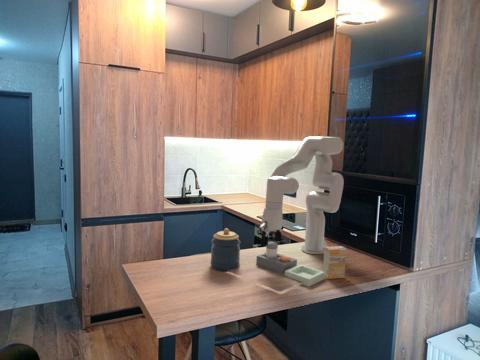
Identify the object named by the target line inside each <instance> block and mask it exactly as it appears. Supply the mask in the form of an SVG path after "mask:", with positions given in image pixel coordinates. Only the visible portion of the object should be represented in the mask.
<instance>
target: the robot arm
mask: <svg viewBox="0 0 480 360" xmlns="http://www.w3.org/2000/svg"><path fill="white" fill-rule="evenodd" d="M343 141H344V140H342V138H341V137H339V136H322V135H321V136H306V137H305V138H303V140H302V142H301V143H300V145H299V146H298V147H297V149H296V151H295V152H294V154H293V156H292V157H290V158H289V159H287V160H285V161H284V162H282V163H280V164H279V165H278V166H277V167H276V168H275V169H274V170H273V172H272V174H271V176H270V177H269V178H267V181H266V194H265V205H264V206H265V207H264V209H263V211H262V212H263V213H262V217H261V224H260V226H259V228H258V229H259V233H260V235H261V245H263V246H264V245H265V246H266V245H268V242H269V234H270V232H274V231H275V233H274V242H279V243H280V242H282V234H283V230H284V229H285V225H286V223H285V221H283V219H284V218H283V216H284V215H283V214H284V213H283V212H284V211H283V203H284V194H286V195H292V194H295V193H296V192H297V191H298V190H299V187H300V184H299V181H298V180H297V179H296V178H294V177H290V176H289V177H288V175H290V174H292V173H295V172H300V171H303V170H305V169H307V168H308V166H309V165H310V164H311V161H312V160H313V158H315V166H314V171H313V175H312V187H314V188H315V189H317V191H316V190H315V191H314V190H312V191H309V192H308V193H307V195H306V196H305V205H306V219H305V220H306V223H305V236H304V245H303V246H302V247H301V251H302V252H304V253H306V254H310V255H324V249H325V246H326V245H327V242H326V241H325V228H326V227H325V226H326V217H325V214H324V212H325V213H331V214H332V213H337V211H338V210H339V208H340V204H341V202H342V200H341V199H342V196H343V190H344V183H345V181H344V176H343V175H342V174H341V173H339V172H335V171H334V172H333V170H332V168H333V159H332V158H331V157H332V155H338V154H340V153H341V152H342V151H343V149H344V142H343ZM318 190H322V191H318ZM324 191H329V192H324Z"/></svg>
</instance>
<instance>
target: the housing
mask: <svg viewBox="0 0 480 360" xmlns="http://www.w3.org/2000/svg"><path fill="white" fill-rule="evenodd" d="M281 256H285V254H284V255H283V254H280V253H277V258H275V259H270V258H267V257H266V252H264V253H261V254H258V255H256V261H255V262H256V263H255V264H256V265H257V266H260V267H263V268H264V269H267V270H268V269H269V270H271V271H274V272H277V273H279V274H282V275H285V271H286V270H288V269H291V268H293V267H296V266H298V263H297V262H298V259H296V258H292V257H290V261H288V262H283V261H281V260H280V257H281Z"/></svg>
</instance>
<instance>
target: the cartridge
mask: <svg viewBox="0 0 480 360" xmlns="http://www.w3.org/2000/svg"><path fill="white" fill-rule="evenodd" d="M278 245H279V243H278V241H273V240H272V241H268V245H265V253H266V257H267V258H270V259H275V258H277V254H278V248H279V246H278Z"/></svg>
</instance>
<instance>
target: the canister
mask: <svg viewBox="0 0 480 360" xmlns="http://www.w3.org/2000/svg"><path fill="white" fill-rule="evenodd" d="M239 238H240V236H239V234H237V233H236V232H234V231H230V229H229V228H227V227H226V228H224V229H223V230H221V231H217V232H216V233H214V234H213V238H211V241H210V242H211V244H212V245H211V247H210V249H211V252H210V254H211V255H210V267H211V269H213V270H215V271H218V272H229V271H231V270H235V269H237V268H239V267H240V256H241V255H240V253H241V247H240V244H241V240H240V239H239Z"/></svg>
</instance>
